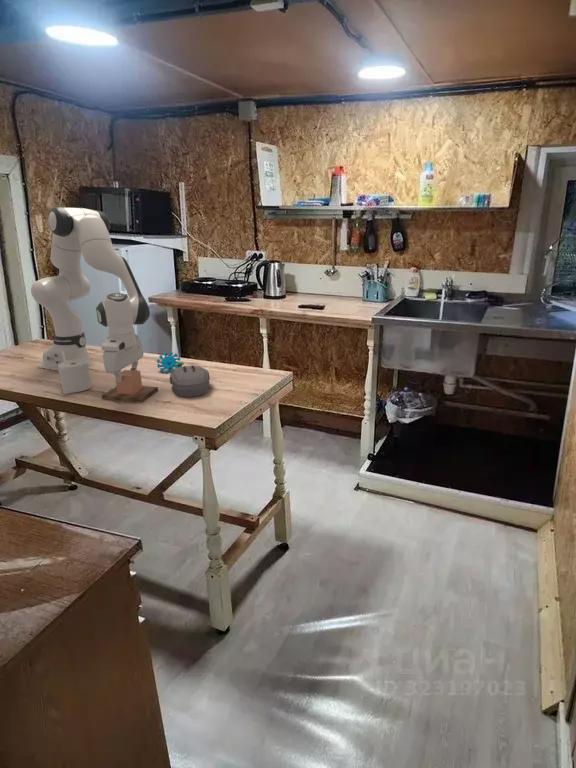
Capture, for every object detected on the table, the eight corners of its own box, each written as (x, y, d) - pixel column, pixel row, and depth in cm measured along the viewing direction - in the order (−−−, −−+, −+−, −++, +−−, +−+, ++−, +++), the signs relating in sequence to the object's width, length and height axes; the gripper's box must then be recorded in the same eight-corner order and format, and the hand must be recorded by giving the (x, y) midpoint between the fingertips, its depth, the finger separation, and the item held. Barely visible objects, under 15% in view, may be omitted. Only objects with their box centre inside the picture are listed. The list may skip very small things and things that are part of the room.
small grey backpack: (169, 383, 194) (172, 401, 176) (167, 363, 191) (170, 379, 173) (207, 379, 198) (214, 396, 180) (206, 359, 195) (213, 374, 177)
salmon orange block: (117, 393, 180) (115, 375, 177) (127, 387, 185) (124, 369, 183) (133, 394, 178) (131, 376, 176) (142, 388, 184) (140, 370, 182)
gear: (153, 370, 204) (159, 349, 208) (156, 376, 209) (161, 356, 214) (180, 373, 204) (185, 352, 208) (182, 379, 210) (187, 359, 214)
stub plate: (102, 399, 179) (99, 382, 176) (120, 387, 190) (117, 371, 187) (141, 402, 175) (139, 385, 173) (158, 390, 186) (156, 374, 184)
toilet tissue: (91, 381, 197) (88, 357, 193) (92, 391, 186) (88, 366, 183) (62, 385, 193) (58, 361, 190) (61, 395, 182) (56, 370, 179)
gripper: (130, 332, 185) (134, 367, 190) (98, 347, 167) (103, 385, 171) (145, 333, 184) (149, 368, 189) (114, 348, 165) (119, 386, 170)
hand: (127, 376), depth 180 cm, fingers open, 8 cm apart
